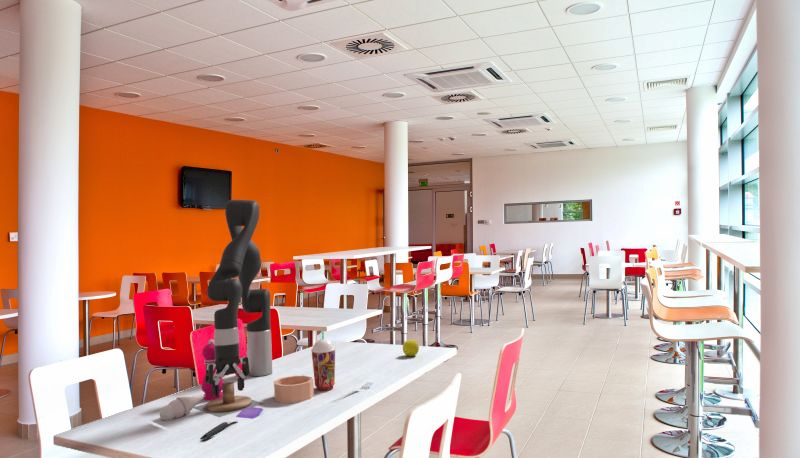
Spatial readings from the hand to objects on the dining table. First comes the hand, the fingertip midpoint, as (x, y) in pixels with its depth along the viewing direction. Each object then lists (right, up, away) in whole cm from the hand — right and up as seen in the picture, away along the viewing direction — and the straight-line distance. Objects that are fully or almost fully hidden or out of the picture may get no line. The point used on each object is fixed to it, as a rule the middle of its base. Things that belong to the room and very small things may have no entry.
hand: (228, 393), depth 181 cm
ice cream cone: (-12, -5, -7) cm, 14 cm away
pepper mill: (-8, -5, +10) cm, 14 cm away
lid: (0, -4, 0) cm, 4 cm away
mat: (0, -5, 0) cm, 5 cm away
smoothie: (+28, -4, +18) cm, 34 cm away
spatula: (+6, -5, -19) cm, 20 cm away
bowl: (+20, -4, +7) cm, 21 cm away
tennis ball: (+59, -3, +65) cm, 88 cm away
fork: (+38, -4, +9) cm, 39 cm away
